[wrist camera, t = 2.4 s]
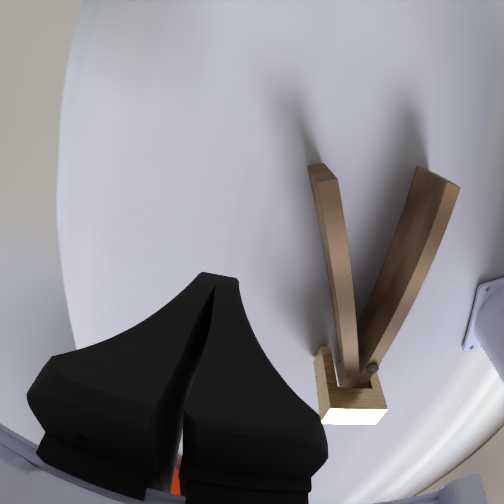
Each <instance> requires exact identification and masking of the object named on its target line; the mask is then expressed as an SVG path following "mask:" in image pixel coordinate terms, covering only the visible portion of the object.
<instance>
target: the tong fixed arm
mask: <svg viewBox="0 0 504 504" xmlns="http://www.w3.org/2000/svg"><path fill="white" fill-rule="evenodd" d="M459 190H460V187H459V186H457V185H456V184H454V183H452V182H450V181H448V180H447V179H445V178H443V177H441V176H439V175H437V174H435V173H433V172H431V171H429V170H427V169H424V168H421V167H418V166H417V168H416V172H415V175H414V179H413V182H412V185H411V189H410V192H409V195H408V198H407V201H406V204H405V207H404V210H403V213H402V216H401V219H400V222H399V225H398V228H397V231H396V233H395V236H394V239H393V242H392V244H391V247H390V250H389V252H388V255H387V258H386V260H385V263H384V265H383V268H382V270H381V273H380V275H379V278H378V280H377V282H376V285H375V287H374V290H373V292H372V294H371V296H370V299H369V301H368V303H367V306H366V308H365V310H364V312H363V314H362V317H361V319H360V321H359V323H358V325H357V340H358V358H359V376H355V377H351V378H345V373H344V368H343V364H342V359H341V360H340V362H339V364H338V366H337V367H336V370H337V376H338V381H339V387H346V388H365V386H366V385H367V383H368V382H369V380H370V379H371V377H372V375H373V374H374V373H375V372H377V371H378V369H379V367H378V366H379V364H380V363H381V361H382V359H383V358H384V356H385V354H386V353H387V351H388V349H389V347H390V346H391V344H392V342H393V340H394V339H395V337H396V335H397V333H398V331H399V330H400V328H401V326H402V324H403V322H404V320H405V318H406V317H407V315H408V313H409V311H410V309H411V307H412V305H413V303H414V301H415V299H416V297H417V295H418V293H419V291H420V289H421V286H422V284H423V282H424V280H425V278H426V276H427V273H428V271H429V269H430V267H431V264H432V262H433V260H434V257H435V255H436V253H437V250H438V248H439V245H440V243H441V240H442V238H443V235H444V233H445V230H446V228H447V225H448V222H449V219H450V217H451V214H452V211H453V208H454V205H455V202H456V199H457V196H458V193H459Z"/></svg>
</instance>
